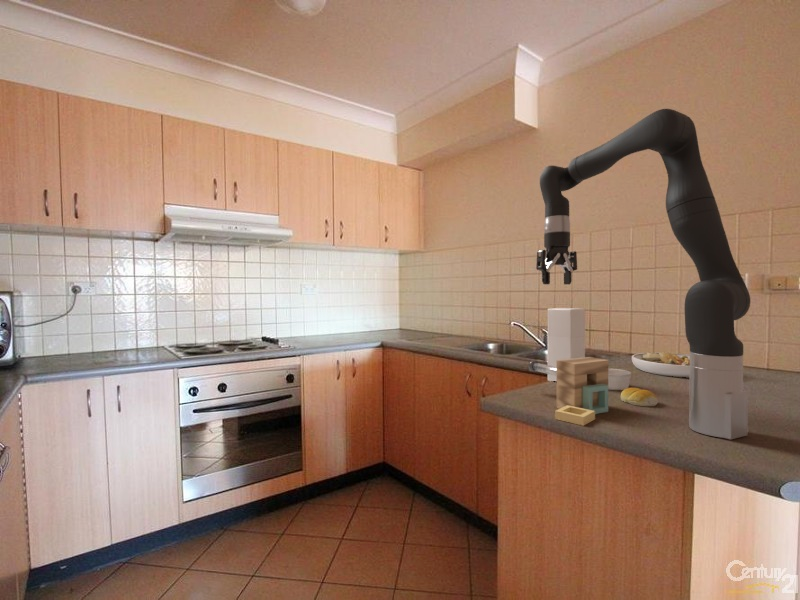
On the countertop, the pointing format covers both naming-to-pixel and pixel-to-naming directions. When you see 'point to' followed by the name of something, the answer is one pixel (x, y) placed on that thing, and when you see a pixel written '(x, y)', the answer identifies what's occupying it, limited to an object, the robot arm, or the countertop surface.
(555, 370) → the shaft
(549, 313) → the tall white carton
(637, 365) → the bowl
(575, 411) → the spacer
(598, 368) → the block
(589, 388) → the frame
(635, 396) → the bread roll
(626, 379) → the ramekin
